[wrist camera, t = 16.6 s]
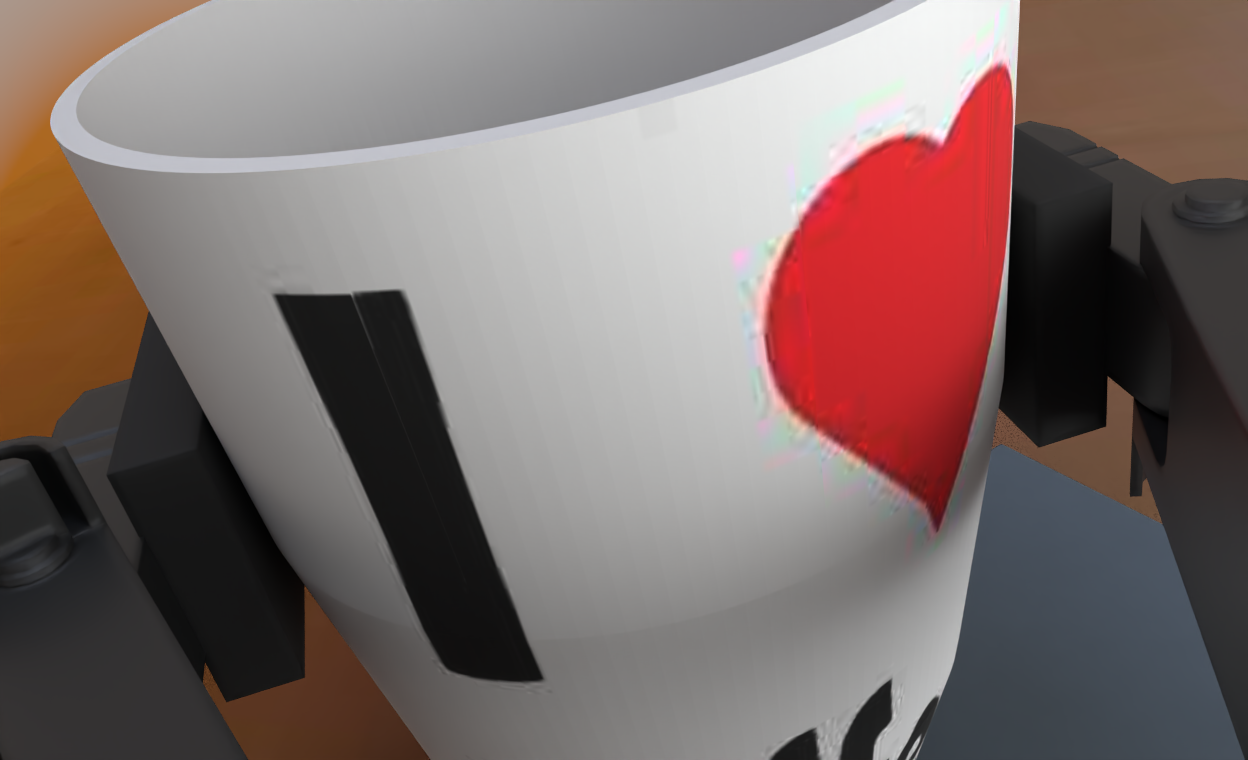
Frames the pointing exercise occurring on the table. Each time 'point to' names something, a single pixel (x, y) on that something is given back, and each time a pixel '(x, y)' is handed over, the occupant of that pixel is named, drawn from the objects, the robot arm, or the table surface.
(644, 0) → the cup
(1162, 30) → the table surface
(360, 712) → the table surface
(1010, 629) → the mat
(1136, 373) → the robot arm
